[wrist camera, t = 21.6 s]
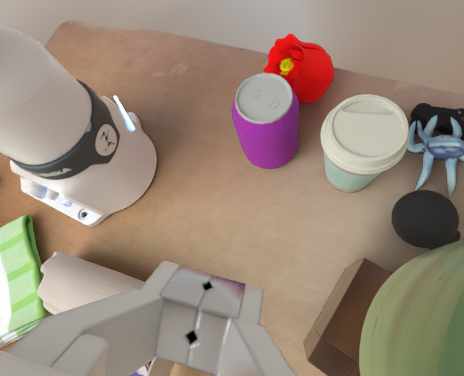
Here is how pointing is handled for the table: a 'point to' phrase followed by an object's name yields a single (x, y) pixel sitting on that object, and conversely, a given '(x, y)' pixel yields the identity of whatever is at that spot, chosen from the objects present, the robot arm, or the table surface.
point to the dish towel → (19, 281)
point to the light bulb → (426, 219)
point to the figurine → (437, 140)
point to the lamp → (394, 319)
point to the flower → (301, 67)
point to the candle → (86, 290)
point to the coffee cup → (362, 140)
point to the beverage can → (267, 120)
